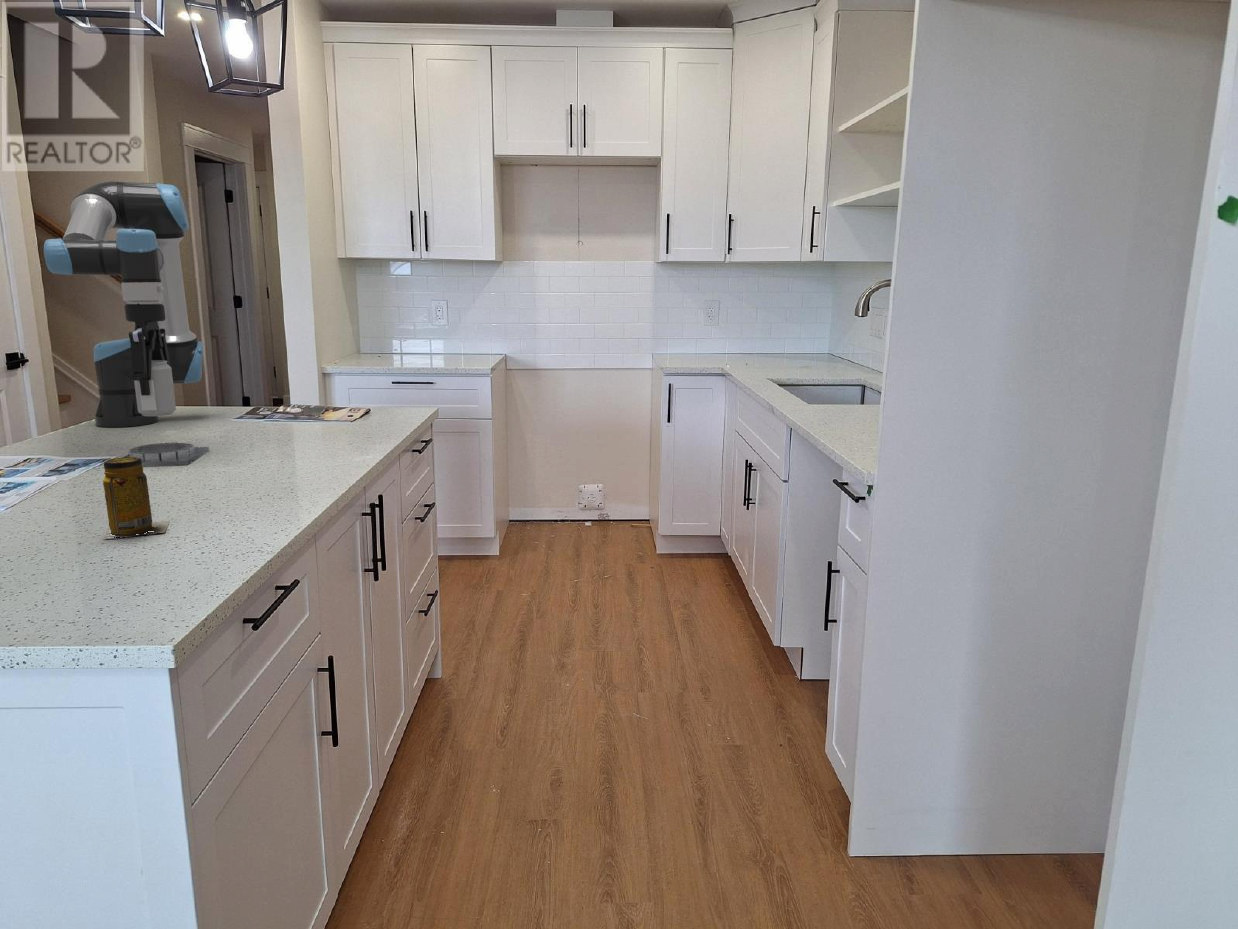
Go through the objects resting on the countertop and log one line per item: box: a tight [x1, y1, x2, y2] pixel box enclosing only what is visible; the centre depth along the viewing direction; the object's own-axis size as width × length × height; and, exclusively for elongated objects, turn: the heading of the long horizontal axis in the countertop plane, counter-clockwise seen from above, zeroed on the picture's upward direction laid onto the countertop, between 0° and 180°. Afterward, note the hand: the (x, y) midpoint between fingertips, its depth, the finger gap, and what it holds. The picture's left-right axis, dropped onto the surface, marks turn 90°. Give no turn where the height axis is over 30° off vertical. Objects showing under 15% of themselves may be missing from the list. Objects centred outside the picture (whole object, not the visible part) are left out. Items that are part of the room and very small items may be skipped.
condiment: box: [102, 456, 170, 540], centre depth 130 cm, size 7×8×12 cm
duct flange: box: [124, 441, 210, 467], centre depth 182 cm, size 15×15×2 cm
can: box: [134, 360, 177, 417], centre depth 178 cm, size 8×8×12 cm
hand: (156, 407), depth 179 cm, fingers closed on can, 7 cm apart
